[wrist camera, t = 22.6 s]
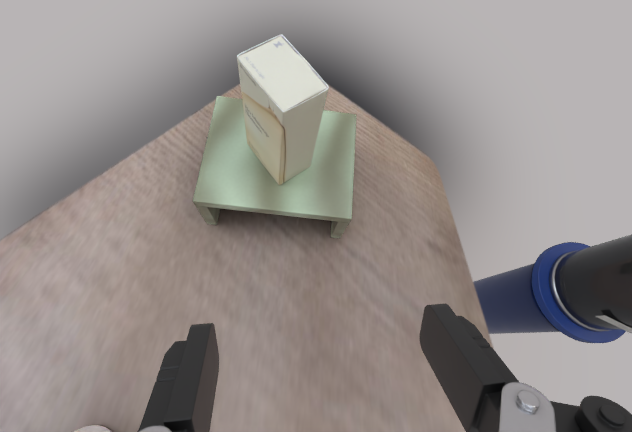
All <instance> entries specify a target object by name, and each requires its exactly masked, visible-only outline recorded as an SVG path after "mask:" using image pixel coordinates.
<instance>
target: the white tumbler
mask: <svg viewBox="0 0 632 432" xmlns="http://www.w3.org/2000/svg"><path fill="white" fill-rule="evenodd" d="M73 432H111V431H110V430H109V429H108V428H106V427H103V426H99V425H90V426H85V427H82V428H80V429H78V430H75V431H73Z"/></svg>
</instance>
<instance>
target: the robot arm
mask: <svg viewBox="0 0 632 432" xmlns="http://www.w3.org/2000/svg"><path fill="white" fill-rule="evenodd" d="M549 286H550V291H551V294H552V297H553V299H554V301H555V303H556V305H557V306H558V308H559V309H560V310H561V312H562V313H563V314H564V315H565V316H566V317H567V318H568V319H569V320H570V321H572V322H573V323H575V324H576V325H578V326H580V327H582V328H584V329H587V330H591V331H609V330H625V331H627V332H629V333H632V235H629V236H625V237H622V238H619V239H615V240H612V241H609V242H605V243H602V244H599V245H595V246H592V247H588V248H585V249H582V250H577V251H572V252H568V253H565V254H563V255H561V256H560V257H558V258H557V259H556V260H555V261H554V263H553V264H552V266H551V269H550V273H549ZM420 344H421V348H422V351H423V353H424V355H425V356H426V358H427V360H428V362H429V364H430V366H431V368H432V369H433V371H434V373H435V375H436V377H437V379H438V381H439V382H440V384H441V386H442V388H443V390H444V392H445V394H446V395H447V397H448V399H449V401H450V403H451V405H452V407H453V408H454V410H455V412H456V414H457V416H458V418H459V420H460V421H461V423H462V425H463V427H464V429H465V431H466V432H632V415H631V414H630V413H629V412H628V411H627V410H626V409H624V408H623V407H622V406H620V405H618V404H617V403H615V402H613V401H611V400H609V399H606V398H603V397H599V396H587V397H585V398H584V399H583V400H582V402H581V404H580V406H573V405H568V404H562V403H557V402H552V401H549V400H548V399H547V398H546V397H545V396H544V395H543V394H542V393H541V392H539V391H538V390H537V389H535V388H533V387H531V386H529V385H527V384H524V383H520V382H519V381H518V380H517V379H516V378H515V376H514V375H513V374H512V372H511V371H510V370H509V369H508V368H507V366H506V365H505V364H504V362H503V361H502V360H501V358H500V357H499V356H498V355H497V353H496V352H495V351H494V350H493V348H492V347H490V344H489V343H488V342H487V341H486V339H485V338H483V336H482V334H481V333H480V332H479V331H478V329H477V328H476V327H475V325H473V324H472V323H471V322H469V321H468V320H467V319H465V318H464V317H462V316H456V315H455V313H454V312H453V311H452V309H451V308H450V307H449V306H448V305H447V304H435V305H427V306H426V307H425V309H424V314H423V320H422V325H421V331H420ZM218 372H219V353H218V347H217V340H216V334H215V327H214V324H213V323H208V324H197V325H191V327H190V330H189V333H188V337H187V341H177V342H175V343H174V344H173V345H172V346H171V348H170V349H169V350H168V351H167V352H166V354H165V356H164V359H163V362H162V365H161V367H160V371H159V373H158V376H157V381H156V382H155V385H154V388H153V391H152V394H151V396H150V399H149V402H148V405H147V408H146V411H145V414H144V417H143V420H142V423H141V425H140V428H139V430H138V432H209V431H210V424H211V418H212V411H213V405H214V398H215V391H216V385H217V378H218Z"/></svg>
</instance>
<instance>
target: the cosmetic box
mask: <svg viewBox="0 0 632 432" xmlns="http://www.w3.org/2000/svg"><path fill="white" fill-rule="evenodd" d="M237 60H238V67H239V76H240V85H241V93H242V102H243V110H244V119H245V128H246V136H247V144H248V145H249V147H250V148H251V149H252V151H253V152H254V153H255V155H256V156H257V157H258V159H259V160H260V161H261V163H262V164H263V165H264V167H265V168H266V169H267V171H268V172H269V173H270V174H271V176H272V177H273V178H274V180H275V181H276V182H277V183H278V184H279V185H281V184H283V183H284V182H286V181H288V180H289V179H291V178H293V177H294V176H296V175H297V174H299V173H301V172H302V171H304V170H306V169H307V168H309V167H310V166H311V161H312V157H313V153H314V149H315V144H316V140H317V135H318V131H319V127H320V123H321V118H322V114H323V110H324V105H325V101H326V97H327V93H328V89H329V87H328V85H327V84H326V83H325V82H324V81H323V79H322V78H321V77H320V76H319V75H318V74H317V73H316V71H315V70H314V69H313V68H312V67H311V65H310V64H309V63H308V62H307V61H306V60H305V59H304V58H303V56H301V54H300V53H299V52H298V51H297V50H296V49H295V48H294V47H293V46H292V45H291V43H290V42H289V41H288V40H287V39H286V38H285V37H284V36H283V35H282V34H281V35H279V36H277V37H274V38H272V39H270V40H267V41H265V42H263V43H261V44H259V45H257V46H255V47H252V48H250V49H248V50H246V51H244V52H242V53H240V54H238V55H237Z"/></svg>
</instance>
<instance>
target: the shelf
mask: <svg viewBox="0 0 632 432" xmlns="http://www.w3.org/2000/svg"><path fill="white" fill-rule="evenodd" d="M355 135H356V114H349V113H341V112H334V111H326V110H323V114H322V118H321V123H320V127H319V131H318V135H317V140H316V144H315V149H314V153H313V157H312V161H311V166H310V167H309V168H307V169H306V170H304V171H302V172H301V173H299V174H297V175H296V176H294V177H293V178H291V179H289V180H288V181H286V182H284V183H283V184H281V185H279V184H278V183H277V182H276V181H275V180H274V178H273V177H272V176H271V174H270V173H269V172H268V171H267V169H266V168H265V167H264V165H263V164H262V163H261V161H260V160H259V159H258V157H257V156H256V155H255V153H254V152H253V151H252V149H251V148H250V147H249V145H248V144H247V136H246V128H245V119H244V110H243V102H242V99H237V98H229V97H222V96H217V98H216V102H215V107H214V111H213V115H212V120H211V124H210V128H209V133H208V137H207V141H206V146H205V150H204V154H203V159H202V163H201V167H200V172H199V176H198V180H197V185H196V189H195V193H194V198H193V202H194V204H195V205H196V207H197V209H198V210H199V212H200V214H201V215H202V217H203V218H204V220H205V222H206V223H207V224H211V225H217V222H218V217H219V212H220V208H222V209H231V210H240V211H248V212H257V213H266V214H275V215H284V216H293V217H302V218H311V219H320V220H329V221H332V223H331V237H332V238H341V236H342V234H343V233H344V231H345V229H346V228H347V226H348V224H349V222H350V221H351V219H352V201H353V179H354V157H355Z"/></svg>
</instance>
